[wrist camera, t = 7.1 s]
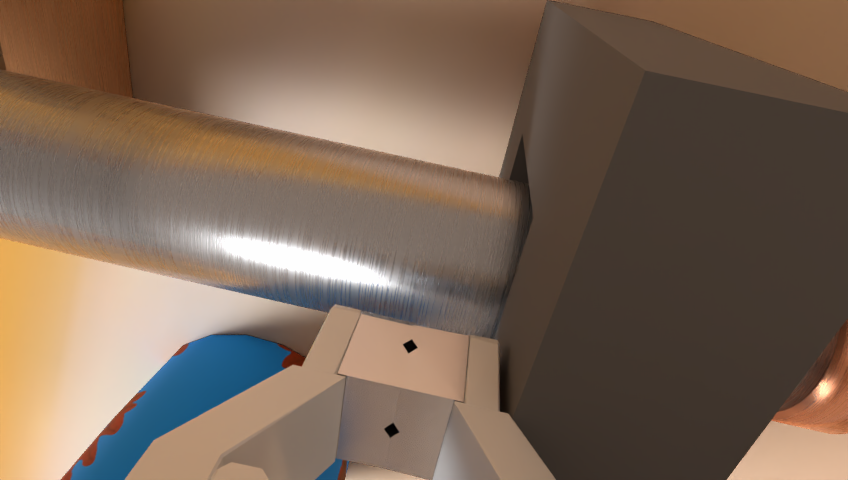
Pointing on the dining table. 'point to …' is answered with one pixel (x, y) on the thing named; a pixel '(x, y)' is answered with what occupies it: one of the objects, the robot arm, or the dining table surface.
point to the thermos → (186, 401)
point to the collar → (667, 247)
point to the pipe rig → (262, 199)
